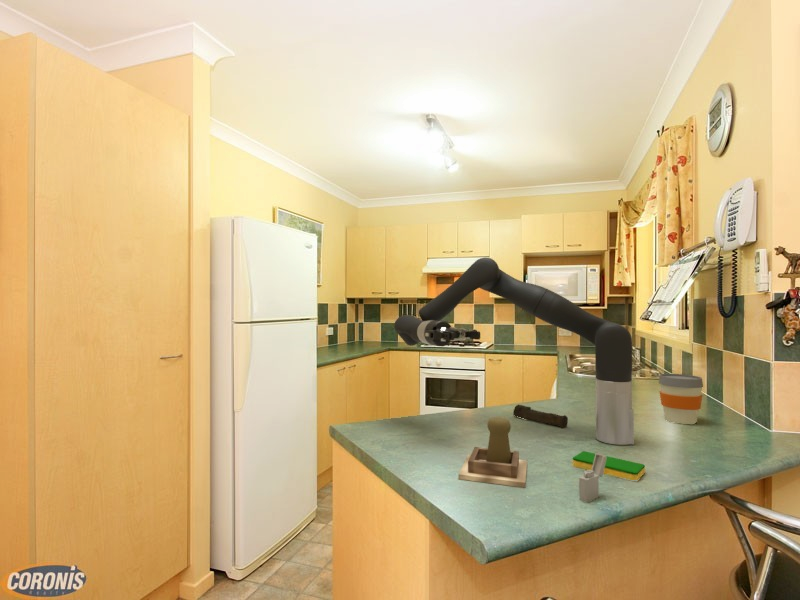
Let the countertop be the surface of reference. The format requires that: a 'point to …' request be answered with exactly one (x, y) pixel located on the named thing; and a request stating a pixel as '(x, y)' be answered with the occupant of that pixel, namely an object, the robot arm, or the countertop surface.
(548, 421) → the hand tool
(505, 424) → the cork
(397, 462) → the countertop surface
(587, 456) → the dish sponge
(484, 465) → the shaker stand
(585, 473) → the lighter
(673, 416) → the reusable coffee cup
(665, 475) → the countertop surface
